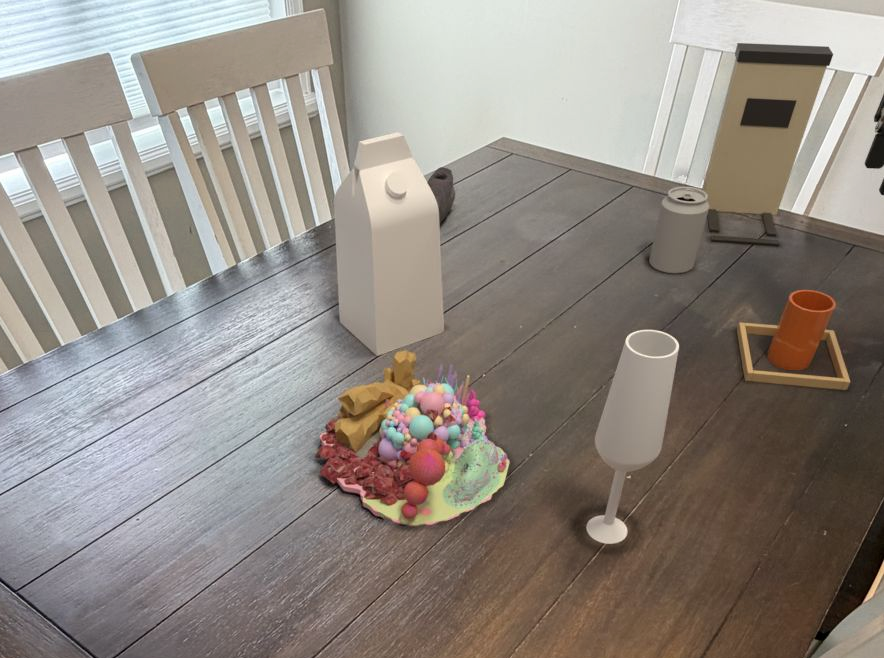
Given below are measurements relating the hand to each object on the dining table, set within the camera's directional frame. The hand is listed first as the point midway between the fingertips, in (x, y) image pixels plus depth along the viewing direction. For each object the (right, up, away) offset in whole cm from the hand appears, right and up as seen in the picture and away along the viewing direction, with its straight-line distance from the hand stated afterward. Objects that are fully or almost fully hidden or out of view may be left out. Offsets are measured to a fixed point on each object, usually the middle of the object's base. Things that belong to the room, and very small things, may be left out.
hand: (880, 180), depth 92 cm
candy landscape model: (-58, -35, +1) cm, 68 cm away
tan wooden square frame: (-5, -18, +14) cm, 24 cm away
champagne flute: (-36, -45, -8) cm, 59 cm away
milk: (-63, -11, +22) cm, 67 cm away
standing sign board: (0, +16, +43) cm, 46 cm away
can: (-16, +4, +34) cm, 37 cm away
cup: (-5, -18, +14) cm, 23 cm away
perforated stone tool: (-56, +19, +46) cm, 75 cm away
